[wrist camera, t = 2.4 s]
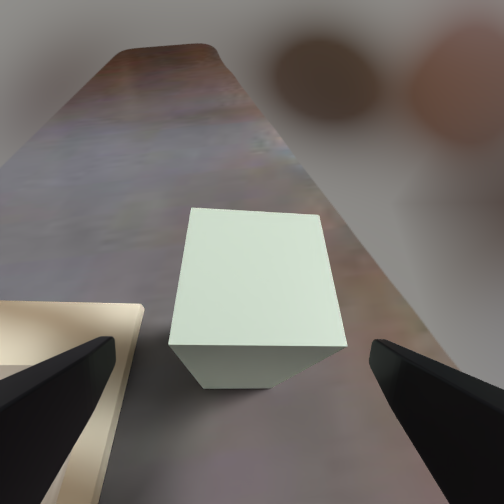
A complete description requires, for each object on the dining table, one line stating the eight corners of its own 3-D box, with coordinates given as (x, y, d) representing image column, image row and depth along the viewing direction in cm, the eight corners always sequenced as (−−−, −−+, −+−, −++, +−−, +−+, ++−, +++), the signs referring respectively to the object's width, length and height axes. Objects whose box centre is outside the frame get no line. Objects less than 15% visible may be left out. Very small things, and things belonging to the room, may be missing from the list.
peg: (271, 388, 16) (347, 346, 6) (203, 388, 16) (168, 344, 6) (267, 322, 19) (318, 215, 9) (209, 320, 18) (191, 207, 8)
